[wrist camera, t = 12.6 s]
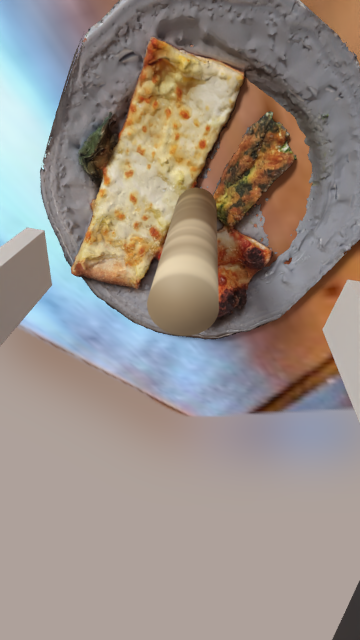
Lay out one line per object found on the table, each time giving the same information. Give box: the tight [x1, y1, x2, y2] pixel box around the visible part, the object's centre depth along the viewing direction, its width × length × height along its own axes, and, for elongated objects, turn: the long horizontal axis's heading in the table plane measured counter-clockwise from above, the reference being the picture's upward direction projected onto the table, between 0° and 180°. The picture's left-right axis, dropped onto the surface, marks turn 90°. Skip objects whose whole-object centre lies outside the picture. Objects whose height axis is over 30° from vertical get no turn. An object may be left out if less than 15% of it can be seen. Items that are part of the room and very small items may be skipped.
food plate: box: [40, 0, 360, 339], centre depth 25 cm, size 25×23×4 cm
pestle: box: [147, 188, 219, 336], centre depth 19 cm, size 3×3×13 cm
